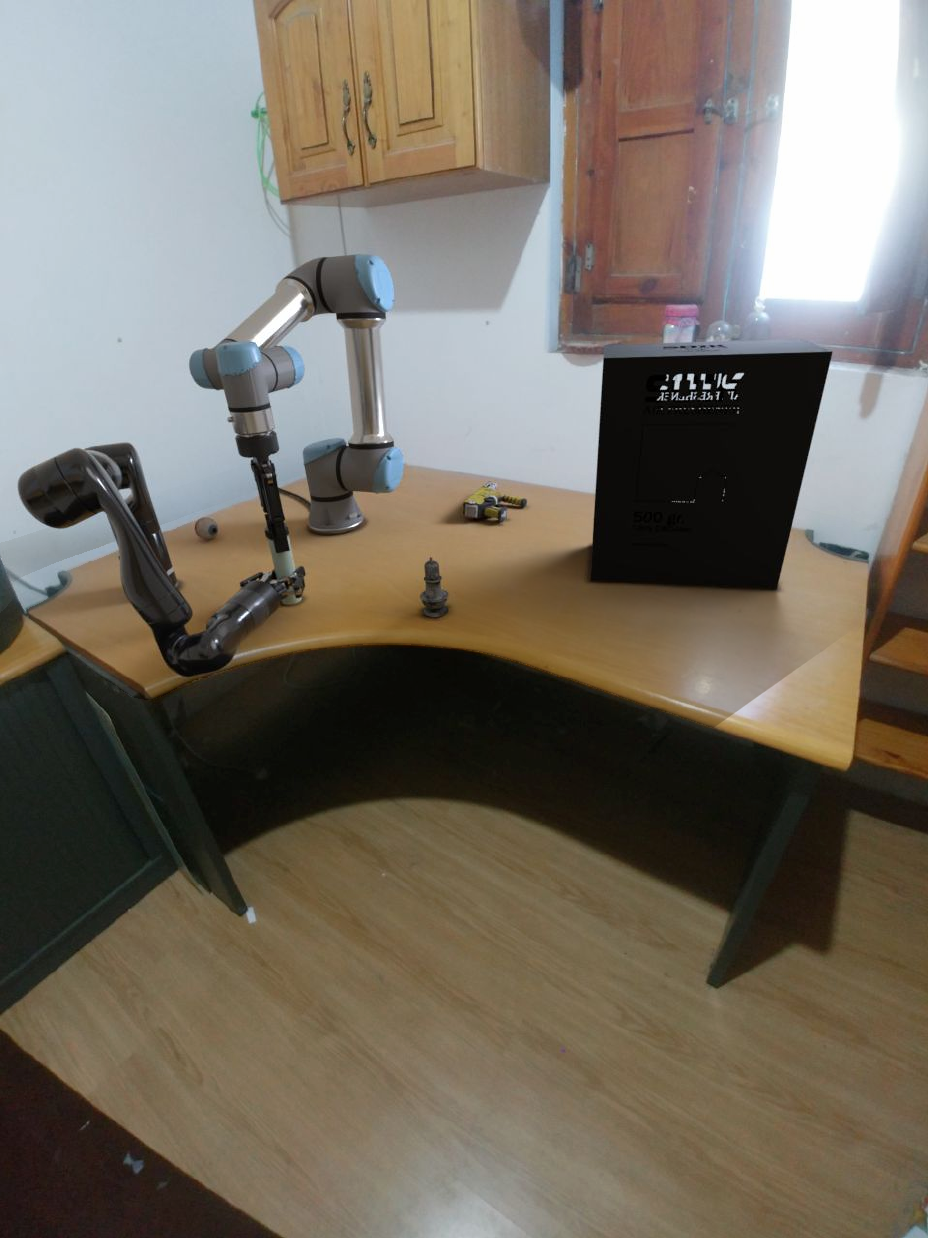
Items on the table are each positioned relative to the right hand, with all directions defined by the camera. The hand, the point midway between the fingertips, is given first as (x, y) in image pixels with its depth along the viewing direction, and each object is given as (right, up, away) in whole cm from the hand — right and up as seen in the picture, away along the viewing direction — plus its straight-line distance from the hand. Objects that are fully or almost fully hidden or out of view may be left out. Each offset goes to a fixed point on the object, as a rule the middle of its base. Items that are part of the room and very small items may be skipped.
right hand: (280, 546), depth 125 cm
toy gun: (+48, +17, +49) cm, 71 cm away
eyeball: (-32, +7, +40) cm, 52 cm away
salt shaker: (+32, -13, -1) cm, 35 cm away
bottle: (+1, -11, +6) cm, 13 cm away
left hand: (+1, -4, +6) cm, 7 cm away
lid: (0, +3, -2) cm, 4 cm away
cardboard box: (+86, -3, +11) cm, 87 cm away
